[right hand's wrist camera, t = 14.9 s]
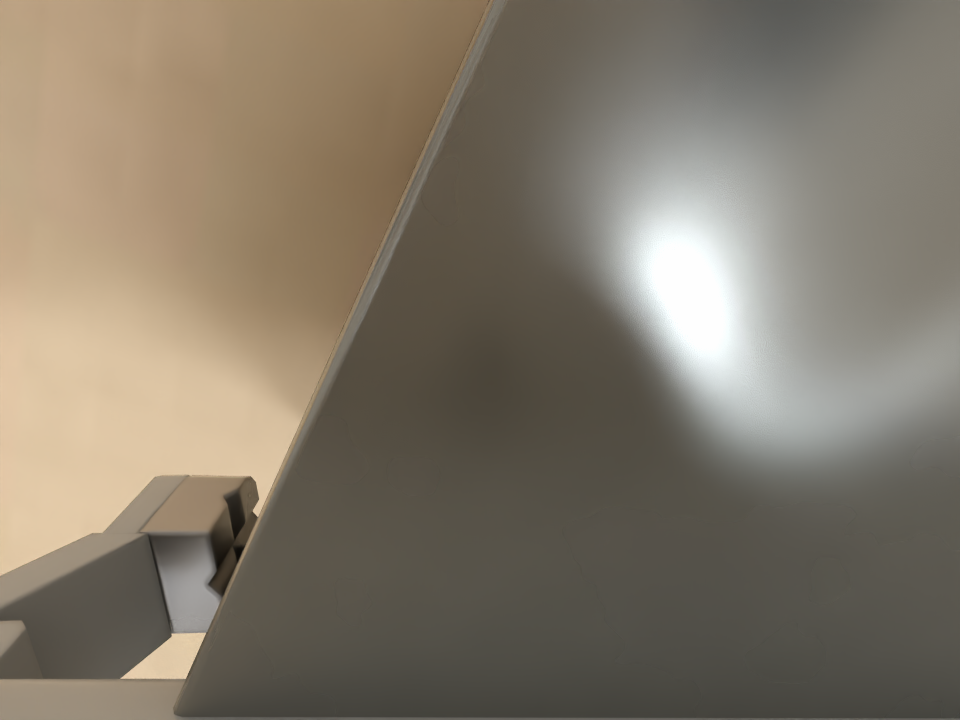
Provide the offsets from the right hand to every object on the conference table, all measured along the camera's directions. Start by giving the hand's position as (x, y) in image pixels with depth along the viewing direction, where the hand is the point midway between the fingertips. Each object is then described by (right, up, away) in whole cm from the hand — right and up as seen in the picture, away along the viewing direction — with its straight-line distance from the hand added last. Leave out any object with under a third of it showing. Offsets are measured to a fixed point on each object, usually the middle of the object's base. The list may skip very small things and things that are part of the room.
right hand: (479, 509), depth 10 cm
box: (+4, +8, +2) cm, 9 cm away
